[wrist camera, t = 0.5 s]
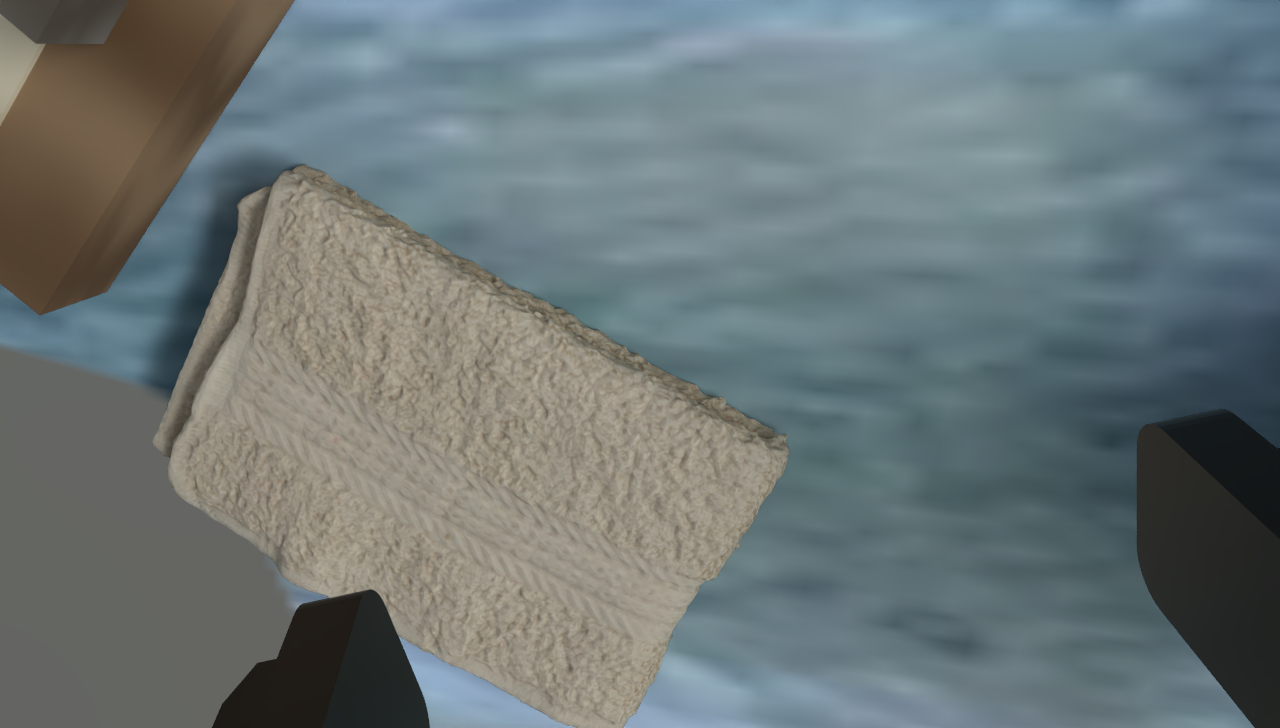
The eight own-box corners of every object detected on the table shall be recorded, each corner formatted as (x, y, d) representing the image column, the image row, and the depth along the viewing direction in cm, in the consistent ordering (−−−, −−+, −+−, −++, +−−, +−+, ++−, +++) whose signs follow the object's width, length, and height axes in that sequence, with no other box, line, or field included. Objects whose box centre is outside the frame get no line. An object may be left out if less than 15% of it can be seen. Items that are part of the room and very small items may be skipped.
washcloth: (289, 142, 30) (235, 151, 28) (807, 426, 31) (808, 465, 28) (172, 453, 34) (113, 491, 31) (631, 704, 35) (615, 764, 32)
